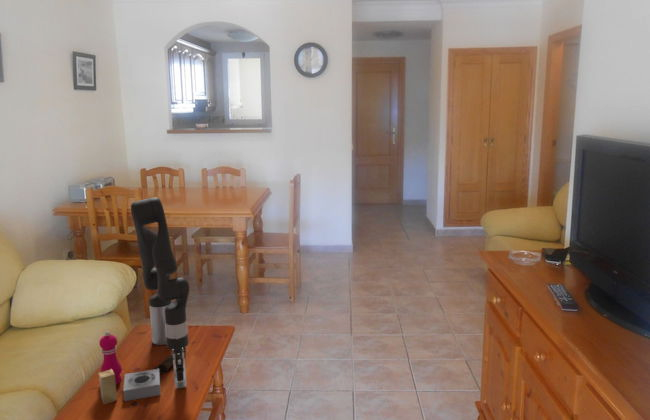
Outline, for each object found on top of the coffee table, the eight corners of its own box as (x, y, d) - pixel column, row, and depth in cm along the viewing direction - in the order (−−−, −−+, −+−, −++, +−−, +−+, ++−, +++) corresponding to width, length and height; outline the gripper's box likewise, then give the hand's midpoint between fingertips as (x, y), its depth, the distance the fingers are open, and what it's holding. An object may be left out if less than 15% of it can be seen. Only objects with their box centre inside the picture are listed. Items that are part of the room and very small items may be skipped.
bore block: (125, 384, 186) (124, 374, 185) (159, 378, 189) (159, 368, 189) (124, 401, 174) (123, 390, 174) (160, 394, 178) (159, 384, 177)
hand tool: (166, 374, 192) (165, 363, 192) (157, 373, 193) (156, 362, 192) (191, 352, 210) (190, 341, 210) (182, 351, 211) (182, 340, 210)
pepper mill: (127, 378, 190) (122, 328, 186) (113, 388, 183) (108, 337, 179) (111, 375, 192) (106, 326, 188) (97, 385, 185) (91, 334, 181)
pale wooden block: (101, 398, 176) (98, 372, 174) (114, 394, 179) (112, 368, 177) (103, 404, 173) (100, 378, 171) (117, 400, 175) (114, 374, 173)
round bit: (174, 383, 184) (172, 358, 182) (186, 381, 185) (184, 356, 183) (175, 389, 180) (173, 363, 178) (186, 387, 181) (185, 361, 179)
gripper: (165, 326, 184) (168, 369, 187) (166, 343, 170) (170, 389, 174) (186, 323, 186) (189, 366, 190) (189, 339, 173) (192, 385, 176)
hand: (180, 376), depth 182 cm, fingers closed on round bit, 4 cm apart
